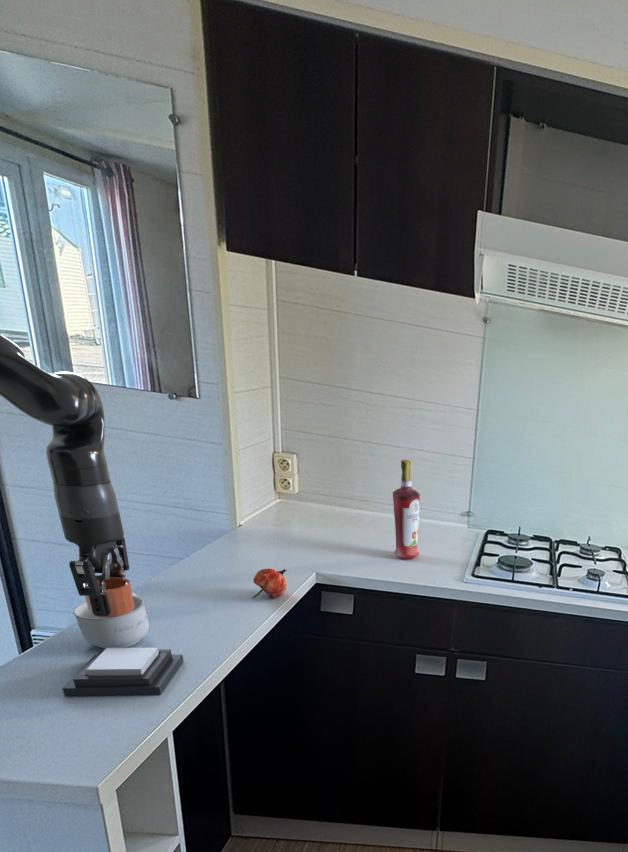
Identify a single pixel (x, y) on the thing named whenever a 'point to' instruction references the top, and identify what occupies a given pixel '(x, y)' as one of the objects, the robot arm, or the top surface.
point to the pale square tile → (123, 662)
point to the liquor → (406, 515)
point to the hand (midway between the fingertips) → (111, 606)
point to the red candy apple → (271, 582)
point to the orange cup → (117, 597)
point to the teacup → (113, 626)
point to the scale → (126, 679)
